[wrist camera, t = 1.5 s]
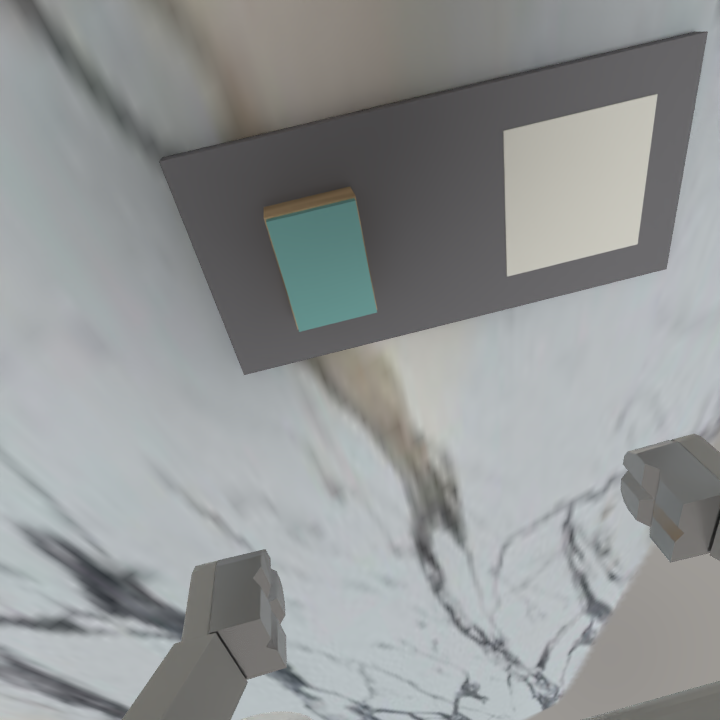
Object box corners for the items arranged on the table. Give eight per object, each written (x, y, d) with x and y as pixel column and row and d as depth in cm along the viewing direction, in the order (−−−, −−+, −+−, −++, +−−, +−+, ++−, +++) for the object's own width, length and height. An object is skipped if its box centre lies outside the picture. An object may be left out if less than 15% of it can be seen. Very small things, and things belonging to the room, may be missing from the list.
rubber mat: (162, 157, 27) (158, 161, 26) (694, 31, 28) (709, 31, 27) (244, 366, 35) (244, 375, 34) (657, 263, 35) (667, 269, 35)
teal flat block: (263, 207, 28) (263, 220, 26) (350, 186, 28) (357, 198, 26) (295, 314, 32) (298, 333, 30) (371, 295, 32) (378, 313, 30)
